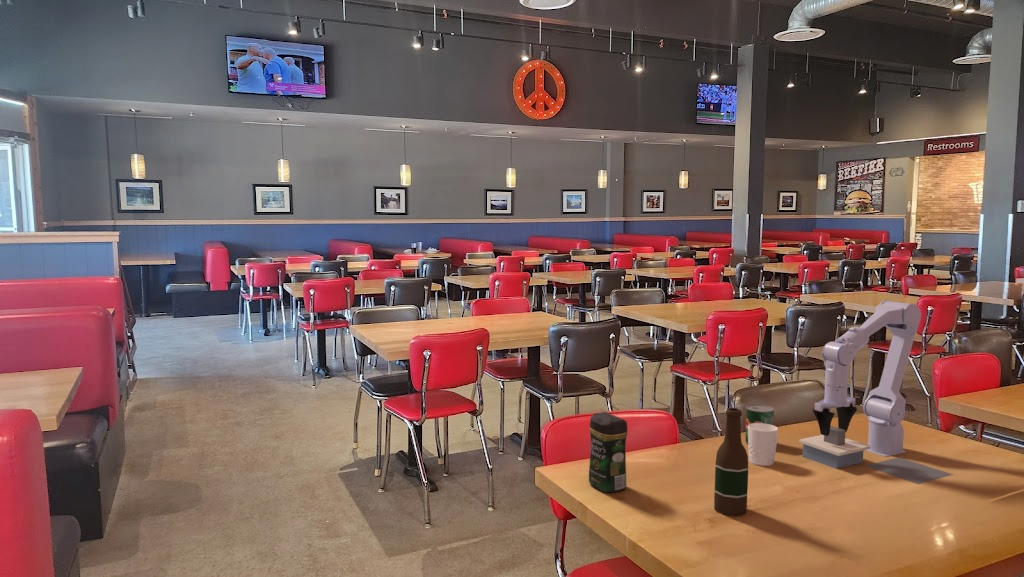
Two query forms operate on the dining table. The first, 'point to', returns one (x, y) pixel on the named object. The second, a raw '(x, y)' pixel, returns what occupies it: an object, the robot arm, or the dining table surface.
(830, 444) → the lid
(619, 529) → the dining table surface
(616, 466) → the coffee jar
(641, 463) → the dining table surface
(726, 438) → the beer bottle
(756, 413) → the canned tomato
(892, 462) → the mat
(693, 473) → the dining table surface
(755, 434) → the white cup
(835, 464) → the open box
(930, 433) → the dining table surface
